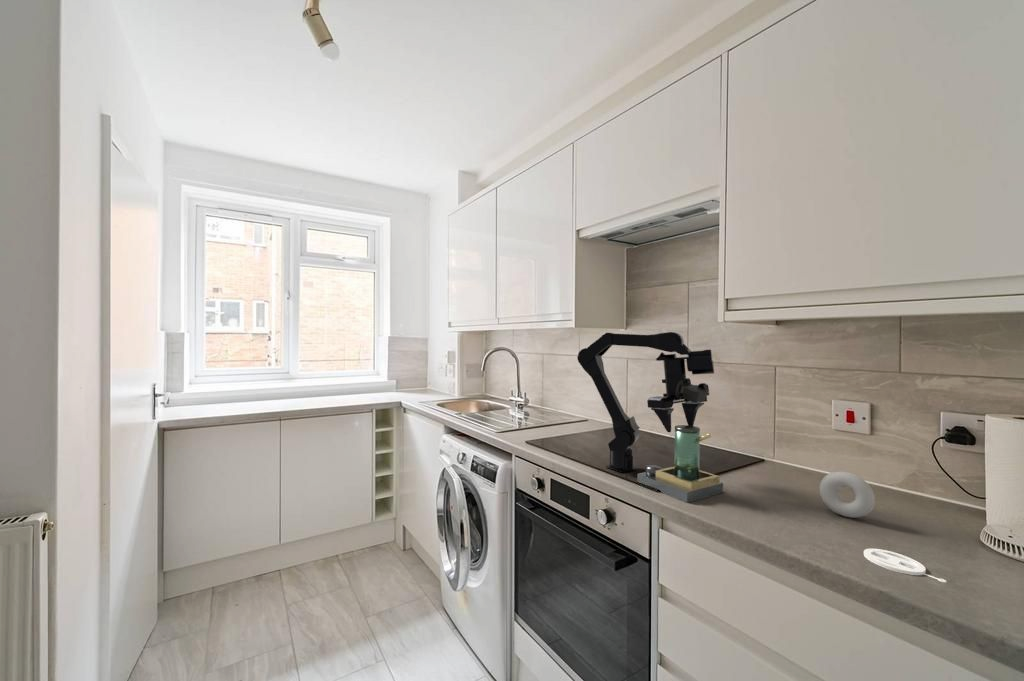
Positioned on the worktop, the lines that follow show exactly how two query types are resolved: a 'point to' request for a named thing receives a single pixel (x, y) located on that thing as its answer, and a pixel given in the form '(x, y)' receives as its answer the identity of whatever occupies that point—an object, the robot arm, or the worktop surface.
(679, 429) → the spout can
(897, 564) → the pendant
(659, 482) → the grey tray base
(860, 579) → the worktop surface
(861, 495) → the donut
